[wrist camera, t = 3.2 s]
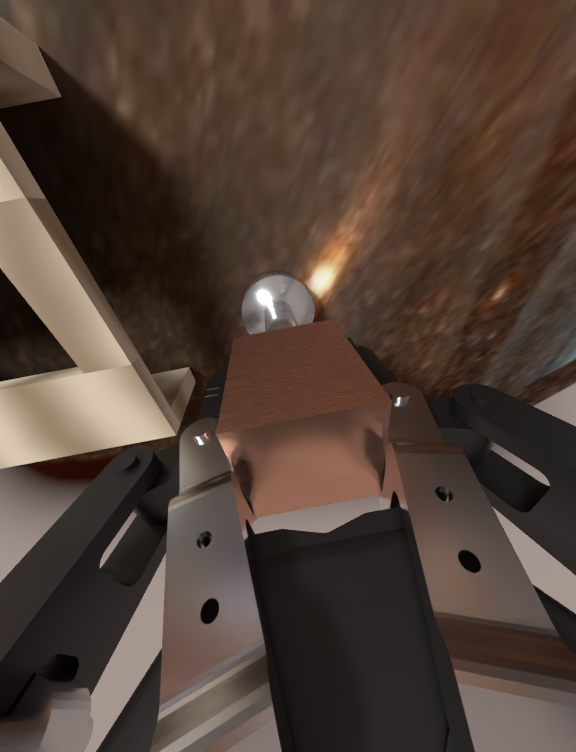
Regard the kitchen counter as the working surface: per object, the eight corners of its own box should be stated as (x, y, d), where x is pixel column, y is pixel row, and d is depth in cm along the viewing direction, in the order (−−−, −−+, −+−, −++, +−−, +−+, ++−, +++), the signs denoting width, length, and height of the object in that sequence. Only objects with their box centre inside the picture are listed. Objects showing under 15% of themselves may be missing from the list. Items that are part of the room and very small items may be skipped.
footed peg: (306, 264, 16) (417, 378, 5) (313, 332, 19) (393, 499, 8) (234, 278, 16) (185, 422, 5) (251, 343, 19) (245, 527, 8)
